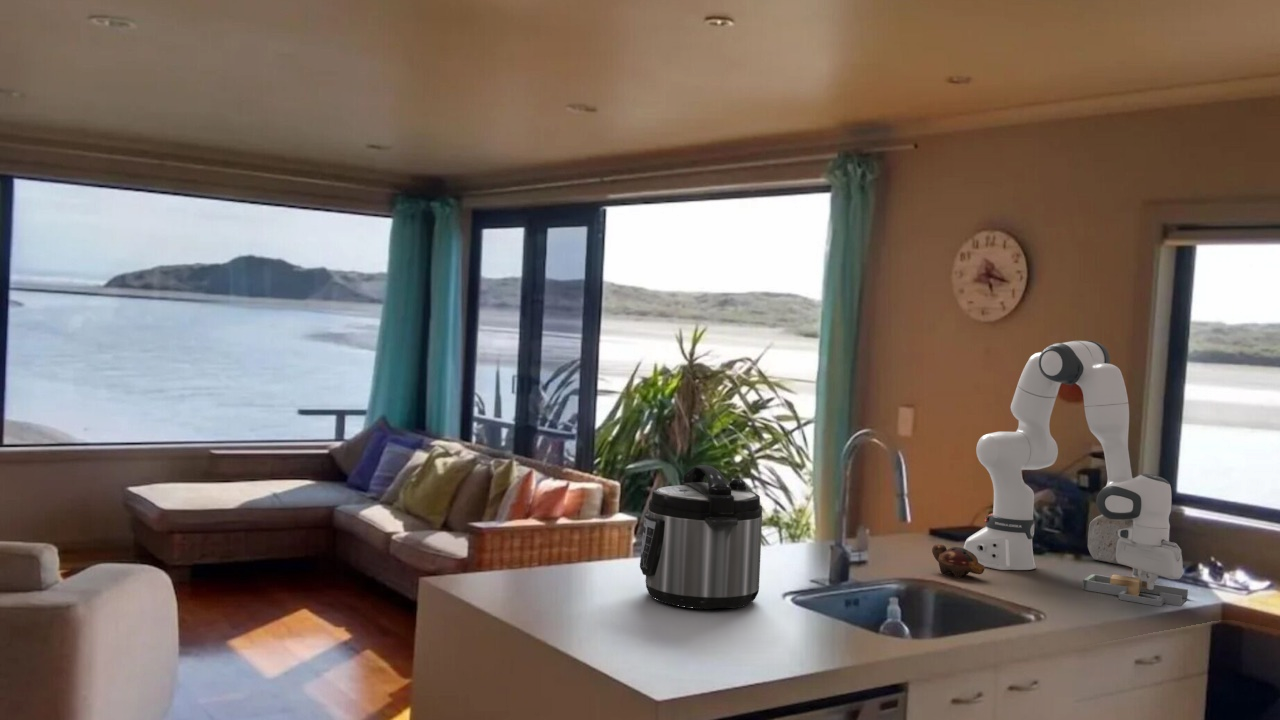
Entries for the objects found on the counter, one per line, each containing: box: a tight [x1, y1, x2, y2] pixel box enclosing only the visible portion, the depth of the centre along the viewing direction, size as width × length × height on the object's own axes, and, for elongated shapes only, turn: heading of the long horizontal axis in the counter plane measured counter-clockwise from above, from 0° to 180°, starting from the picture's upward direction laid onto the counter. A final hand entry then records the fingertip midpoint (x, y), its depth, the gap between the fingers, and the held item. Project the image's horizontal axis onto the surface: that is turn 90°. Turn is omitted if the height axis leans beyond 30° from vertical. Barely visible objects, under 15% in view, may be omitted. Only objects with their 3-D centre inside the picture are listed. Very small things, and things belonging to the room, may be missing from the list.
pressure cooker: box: [639, 464, 763, 610], centre depth 269 cm, size 30×28×32 cm
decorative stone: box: [1087, 514, 1133, 566], centre depth 342 cm, size 17×20×10 cm
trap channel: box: [1082, 573, 1189, 607], centre depth 299 cm, size 24×16×2 cm, turn 56°
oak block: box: [1110, 574, 1141, 596], centre depth 302 cm, size 7×6×4 cm
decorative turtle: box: [931, 543, 986, 578], centre depth 313 cm, size 10×15×8 cm, turn 56°
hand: (1146, 588), depth 300 cm, fingers closed
